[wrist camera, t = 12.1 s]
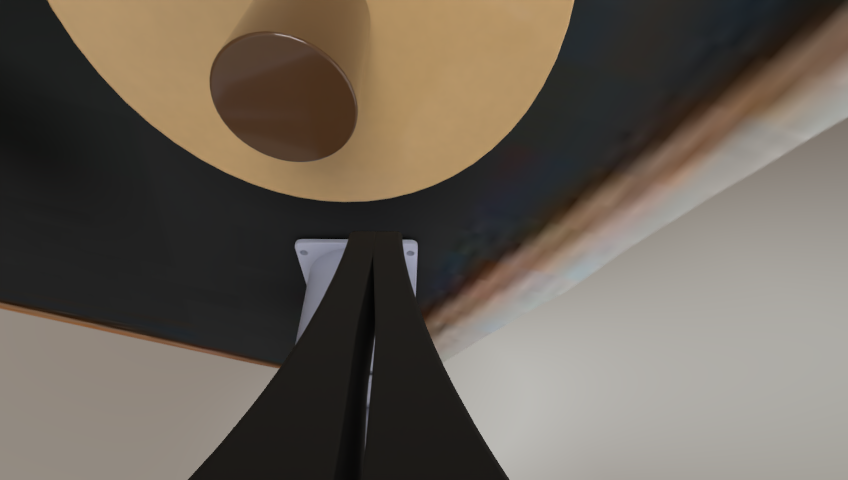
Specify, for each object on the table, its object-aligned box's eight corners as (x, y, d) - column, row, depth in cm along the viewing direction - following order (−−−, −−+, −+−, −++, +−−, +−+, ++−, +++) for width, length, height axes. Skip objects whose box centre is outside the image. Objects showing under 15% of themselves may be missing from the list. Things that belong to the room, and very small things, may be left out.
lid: (511, 184, 16) (538, 296, 12) (177, 180, 15) (113, 295, 12) (678, -434, 6) (983, -662, 3) (-200, -512, 6) (-1063, -904, 2)
